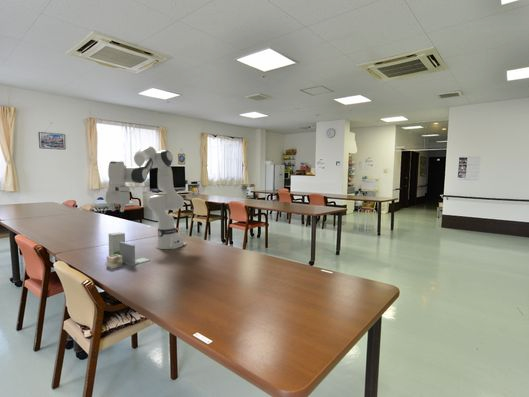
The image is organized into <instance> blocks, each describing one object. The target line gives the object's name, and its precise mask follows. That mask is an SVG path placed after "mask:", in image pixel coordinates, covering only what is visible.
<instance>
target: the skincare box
mask: <svg viewBox="0 0 529 397" xmlns="http://www.w3.org/2000/svg"><path fill="white" fill-rule="evenodd" d="M119 242H125V243H126V233H125V232H121V231H119V232H112V233H108V256H111V255H116V254H117V255H120V244H119Z"/></svg>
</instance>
